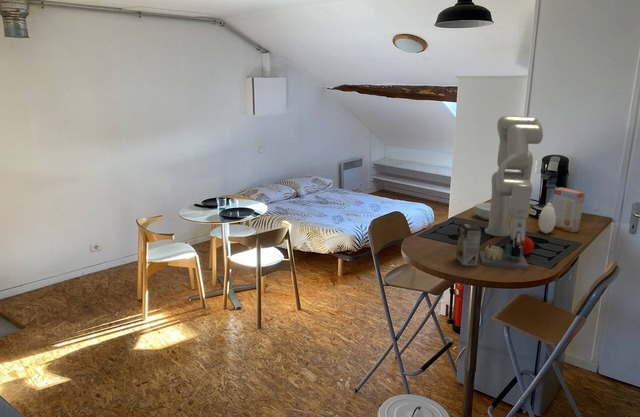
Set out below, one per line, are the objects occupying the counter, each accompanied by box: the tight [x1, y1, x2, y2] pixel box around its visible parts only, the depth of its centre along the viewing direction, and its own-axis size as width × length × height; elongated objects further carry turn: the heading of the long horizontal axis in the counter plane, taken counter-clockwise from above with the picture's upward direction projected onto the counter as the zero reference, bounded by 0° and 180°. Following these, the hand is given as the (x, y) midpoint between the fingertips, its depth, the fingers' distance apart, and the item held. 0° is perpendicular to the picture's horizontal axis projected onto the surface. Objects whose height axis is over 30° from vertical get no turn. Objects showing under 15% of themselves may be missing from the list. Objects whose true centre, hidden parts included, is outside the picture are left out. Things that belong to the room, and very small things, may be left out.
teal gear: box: [503, 243, 524, 258], centre depth 210 cm, size 7×7×4 cm
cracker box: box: [552, 186, 585, 233], centre depth 259 cm, size 14×6×21 cm, turn 22°
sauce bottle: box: [538, 198, 556, 234], centre depth 252 cm, size 8×8×18 cm
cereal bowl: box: [474, 202, 491, 221], centre depth 277 cm, size 17×17×7 cm
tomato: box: [520, 235, 535, 256], centre depth 222 cm, size 9×10×8 cm
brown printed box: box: [455, 222, 482, 267], centre depth 209 cm, size 9×6×16 cm
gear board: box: [479, 243, 529, 270], centre depth 212 cm, size 14×18×7 cm
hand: (513, 252), depth 211 cm, fingers closed on teal gear, 7 cm apart
